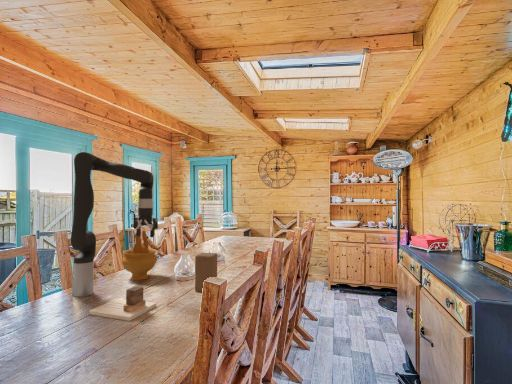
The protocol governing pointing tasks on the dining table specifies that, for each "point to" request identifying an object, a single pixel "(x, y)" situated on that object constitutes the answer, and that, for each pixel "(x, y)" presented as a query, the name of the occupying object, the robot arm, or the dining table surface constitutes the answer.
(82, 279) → the robot arm
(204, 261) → the wooden block
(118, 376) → the dining table surface
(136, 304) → the block
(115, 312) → the board
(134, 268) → the mustard brown vase
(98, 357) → the dining table surface
